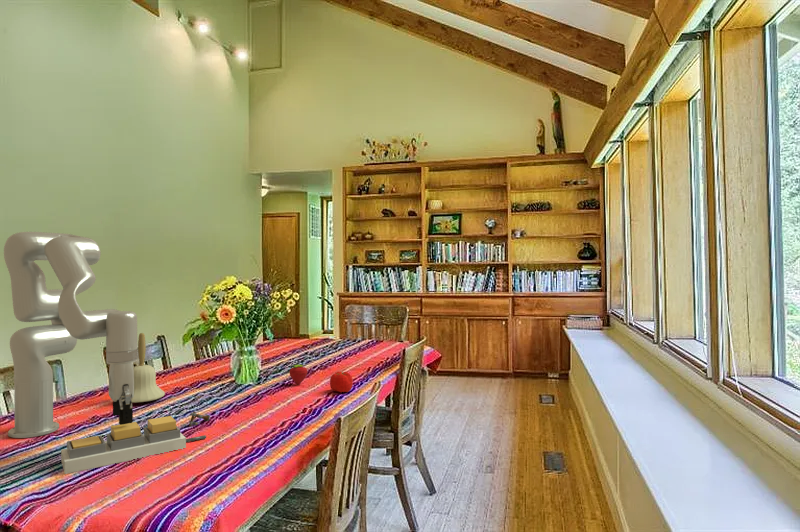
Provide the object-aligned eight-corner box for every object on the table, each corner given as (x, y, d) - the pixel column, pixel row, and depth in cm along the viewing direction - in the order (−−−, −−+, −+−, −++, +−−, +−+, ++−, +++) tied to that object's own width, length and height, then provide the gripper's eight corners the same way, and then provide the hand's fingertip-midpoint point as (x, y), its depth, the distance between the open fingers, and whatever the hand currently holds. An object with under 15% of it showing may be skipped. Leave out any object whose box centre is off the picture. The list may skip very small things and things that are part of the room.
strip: (61, 461, 133) (61, 441, 133) (201, 433, 154) (201, 416, 154) (64, 474, 125) (64, 452, 125) (211, 443, 146) (211, 425, 146)
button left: (71, 449, 133) (71, 440, 133) (98, 444, 136) (98, 435, 136) (73, 456, 128) (73, 447, 128) (101, 450, 132) (101, 442, 132)
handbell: (109, 403, 187) (108, 334, 187) (146, 393, 200) (146, 329, 200) (136, 408, 180) (136, 337, 180) (173, 398, 193) (173, 331, 193)
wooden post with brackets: (185, 425, 160) (189, 410, 161) (202, 428, 166) (206, 414, 168) (189, 426, 159) (194, 411, 161) (206, 429, 166) (210, 415, 168)
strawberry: (306, 386, 212) (306, 362, 212) (288, 386, 212) (288, 362, 212) (308, 383, 218) (308, 359, 218) (290, 383, 218) (290, 359, 218)
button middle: (110, 434, 138) (110, 425, 138) (135, 429, 142) (135, 421, 142) (114, 440, 133) (114, 431, 133) (140, 435, 137) (140, 427, 137)
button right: (147, 427, 144) (147, 419, 144) (170, 423, 147) (170, 415, 147) (152, 433, 139) (152, 425, 139) (176, 429, 142) (176, 421, 142)
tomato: (342, 395, 198) (342, 376, 198) (325, 392, 204) (325, 373, 204) (358, 390, 206) (358, 372, 206) (342, 387, 211) (342, 369, 211)
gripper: (101, 353, 146) (102, 414, 146) (111, 363, 132) (112, 430, 132) (131, 350, 150) (131, 409, 151) (143, 359, 137) (144, 424, 137)
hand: (122, 419), depth 141 cm, fingers open, 9 cm apart
